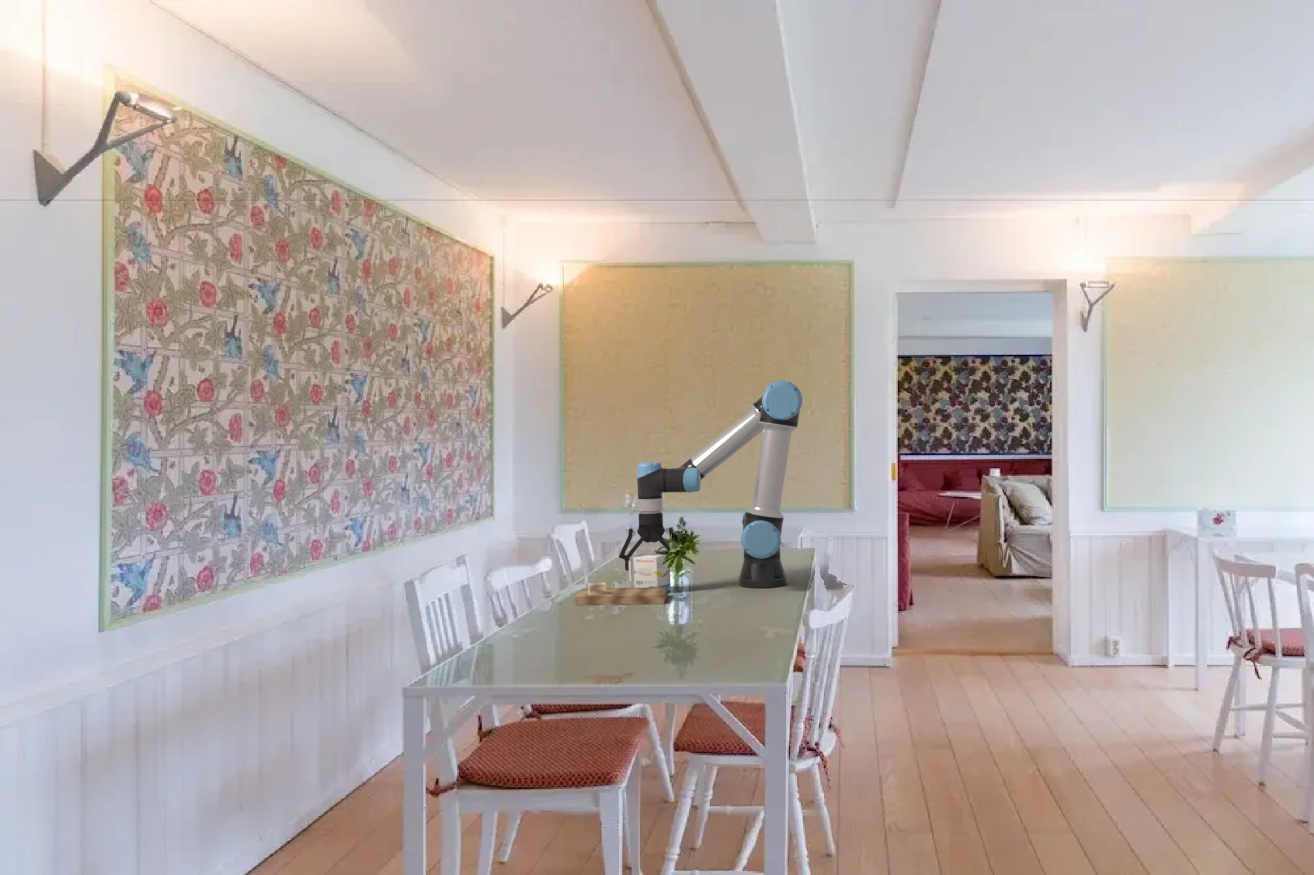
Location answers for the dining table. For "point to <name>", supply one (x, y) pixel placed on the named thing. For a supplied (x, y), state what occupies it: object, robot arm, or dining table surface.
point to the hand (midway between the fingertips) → (652, 580)
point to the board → (624, 596)
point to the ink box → (650, 571)
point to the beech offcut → (597, 588)
